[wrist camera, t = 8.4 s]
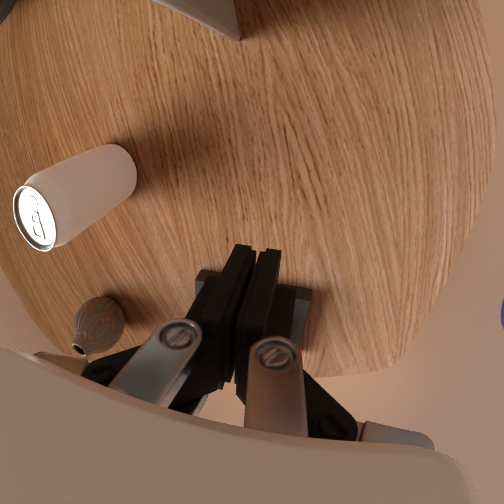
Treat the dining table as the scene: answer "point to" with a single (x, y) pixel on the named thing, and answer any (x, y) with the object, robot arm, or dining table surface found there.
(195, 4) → the planter
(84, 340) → the vase
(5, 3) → the lantern
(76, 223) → the can
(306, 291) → the button base
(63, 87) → the dining table surface
